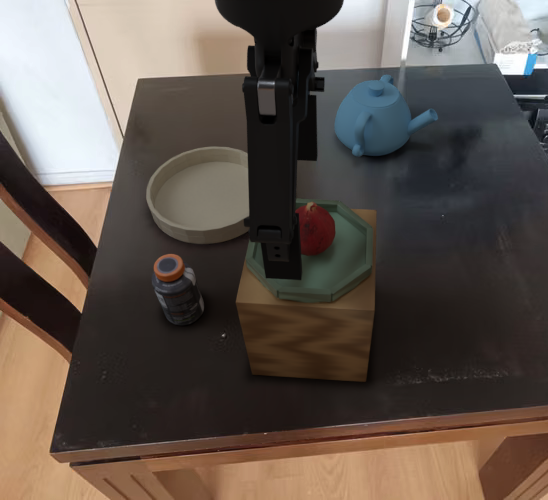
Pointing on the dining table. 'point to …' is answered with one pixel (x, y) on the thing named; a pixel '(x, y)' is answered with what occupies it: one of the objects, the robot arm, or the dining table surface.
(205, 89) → the dining table surface
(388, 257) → the dining table surface
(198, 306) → the pill bottle
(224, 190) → the cream bowl
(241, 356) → the dining table surface
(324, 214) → the onion
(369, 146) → the teapot
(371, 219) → the stand
